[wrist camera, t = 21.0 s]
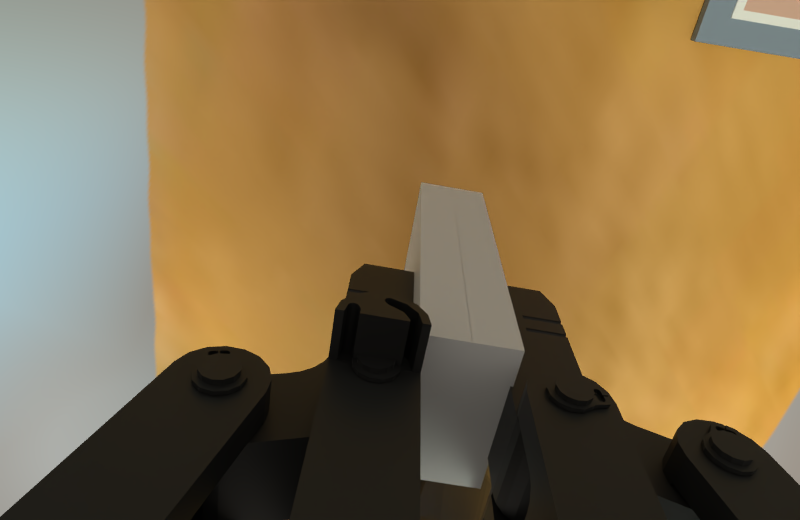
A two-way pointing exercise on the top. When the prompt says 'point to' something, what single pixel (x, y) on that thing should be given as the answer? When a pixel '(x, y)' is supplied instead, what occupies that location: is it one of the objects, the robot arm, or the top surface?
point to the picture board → (751, 25)
